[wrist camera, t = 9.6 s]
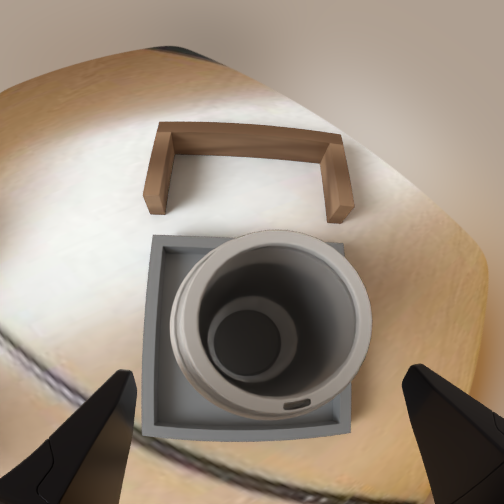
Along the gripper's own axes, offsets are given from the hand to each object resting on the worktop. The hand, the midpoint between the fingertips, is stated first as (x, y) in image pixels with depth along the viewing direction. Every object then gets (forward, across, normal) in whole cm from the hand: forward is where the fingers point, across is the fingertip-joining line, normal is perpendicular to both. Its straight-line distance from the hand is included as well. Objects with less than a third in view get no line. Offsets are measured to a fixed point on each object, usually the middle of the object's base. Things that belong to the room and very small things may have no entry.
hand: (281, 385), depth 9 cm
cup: (+10, 0, +7) cm, 12 cm away
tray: (+10, 0, +7) cm, 13 cm away
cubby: (+19, 0, -2) cm, 20 cm away
